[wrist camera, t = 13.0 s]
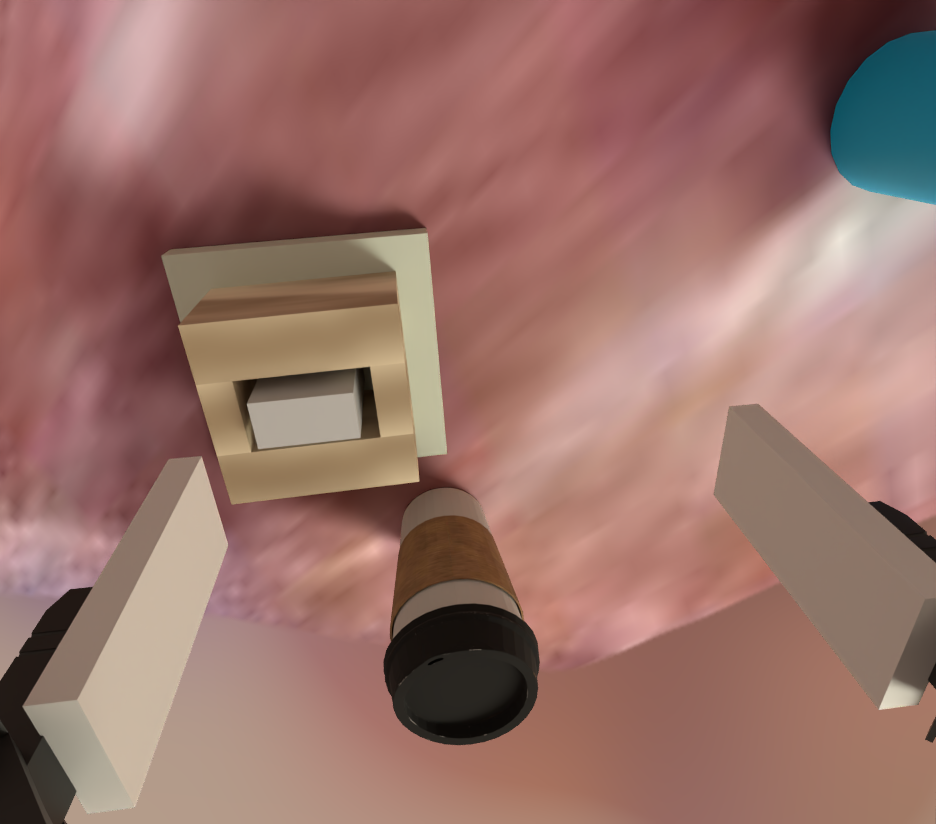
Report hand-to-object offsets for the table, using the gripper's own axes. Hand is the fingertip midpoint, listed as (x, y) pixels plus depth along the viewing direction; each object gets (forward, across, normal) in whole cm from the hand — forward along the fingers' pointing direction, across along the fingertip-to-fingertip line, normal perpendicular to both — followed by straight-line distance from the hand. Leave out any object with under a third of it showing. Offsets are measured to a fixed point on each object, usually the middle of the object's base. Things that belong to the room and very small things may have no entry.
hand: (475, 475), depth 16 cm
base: (+22, -7, -6) cm, 24 cm away
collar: (+21, -7, -6) cm, 23 cm away
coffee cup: (+22, 0, -19) cm, 30 cm away
